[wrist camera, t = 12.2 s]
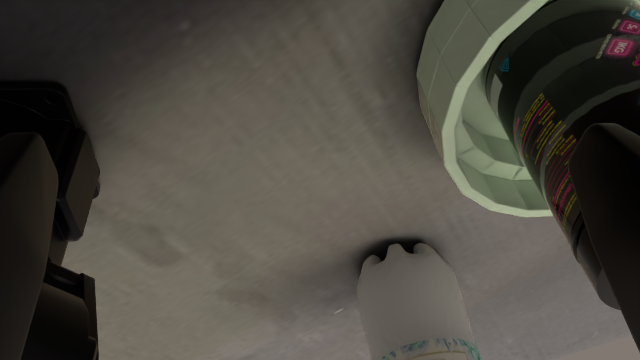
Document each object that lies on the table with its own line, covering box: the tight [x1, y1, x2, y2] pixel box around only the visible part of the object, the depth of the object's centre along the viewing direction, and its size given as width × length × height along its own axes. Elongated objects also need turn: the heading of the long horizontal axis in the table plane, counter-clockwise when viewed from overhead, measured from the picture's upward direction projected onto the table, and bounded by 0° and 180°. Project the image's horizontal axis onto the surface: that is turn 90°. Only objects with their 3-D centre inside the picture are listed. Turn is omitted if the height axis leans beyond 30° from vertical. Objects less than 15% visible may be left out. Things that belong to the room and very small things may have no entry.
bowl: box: [416, 0, 640, 217], centre depth 20 cm, size 13×13×4 cm
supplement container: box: [485, 0, 640, 310], centre depth 18 cm, size 7×7×10 cm
